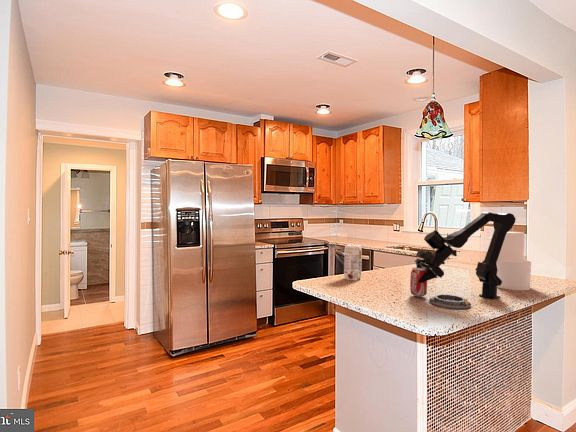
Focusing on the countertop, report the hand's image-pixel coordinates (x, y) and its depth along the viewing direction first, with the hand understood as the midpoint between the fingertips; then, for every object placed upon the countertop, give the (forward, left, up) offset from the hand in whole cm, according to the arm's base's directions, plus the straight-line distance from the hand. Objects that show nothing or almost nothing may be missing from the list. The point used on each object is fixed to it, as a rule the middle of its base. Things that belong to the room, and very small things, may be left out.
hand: (415, 280), depth 161 cm
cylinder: (-63, +8, -8) cm, 64 cm away
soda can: (-1, +1, -7) cm, 7 cm away
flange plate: (-4, +15, -7) cm, 17 cm away
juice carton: (+1, -42, -8) cm, 43 cm away
